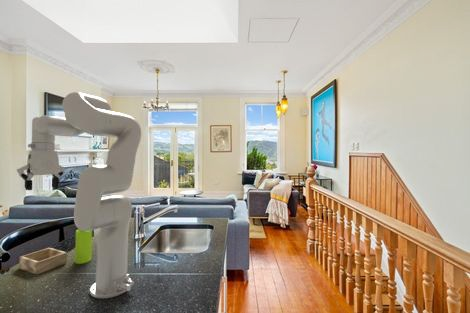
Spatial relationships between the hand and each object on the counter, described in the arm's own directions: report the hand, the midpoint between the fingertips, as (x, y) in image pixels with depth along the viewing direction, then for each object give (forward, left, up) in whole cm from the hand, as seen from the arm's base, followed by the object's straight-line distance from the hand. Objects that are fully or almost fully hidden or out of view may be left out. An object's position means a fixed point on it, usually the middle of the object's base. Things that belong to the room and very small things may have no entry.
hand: (42, 188), depth 99 cm
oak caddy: (-5, +1, -31) cm, 31 cm away
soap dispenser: (-15, -9, -31) cm, 35 cm away
